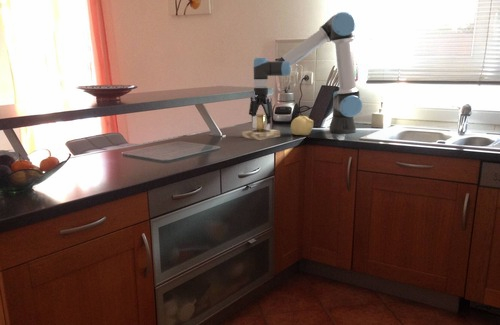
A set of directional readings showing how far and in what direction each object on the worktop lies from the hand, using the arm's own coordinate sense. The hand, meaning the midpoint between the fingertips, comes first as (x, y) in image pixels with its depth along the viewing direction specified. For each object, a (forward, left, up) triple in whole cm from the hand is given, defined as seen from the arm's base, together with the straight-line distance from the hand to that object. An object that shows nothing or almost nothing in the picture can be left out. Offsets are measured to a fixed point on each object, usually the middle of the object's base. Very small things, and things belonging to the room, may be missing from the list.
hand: (261, 128), depth 243 cm
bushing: (0, 0, -4) cm, 4 cm away
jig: (0, 0, -4) cm, 4 cm away
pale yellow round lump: (-13, -19, -5) cm, 23 cm away
